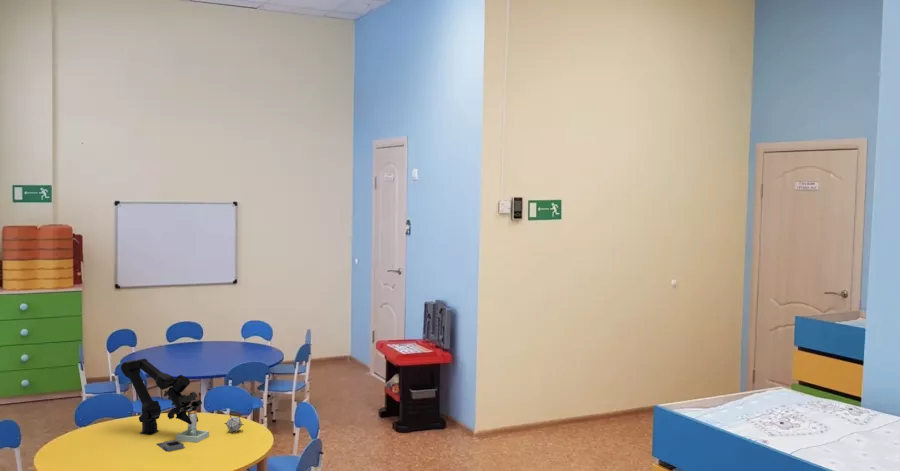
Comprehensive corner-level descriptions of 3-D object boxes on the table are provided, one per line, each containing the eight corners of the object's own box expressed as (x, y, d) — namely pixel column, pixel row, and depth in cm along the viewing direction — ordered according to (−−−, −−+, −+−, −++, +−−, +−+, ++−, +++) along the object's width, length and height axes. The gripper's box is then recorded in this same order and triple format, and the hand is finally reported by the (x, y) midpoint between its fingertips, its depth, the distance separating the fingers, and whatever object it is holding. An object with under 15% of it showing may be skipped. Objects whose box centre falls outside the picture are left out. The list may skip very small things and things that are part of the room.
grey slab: (155, 445, 364) (155, 439, 364) (174, 442, 370) (174, 436, 370) (166, 454, 353) (166, 447, 353) (185, 450, 359) (185, 443, 359)
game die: (237, 437, 389) (249, 421, 391) (231, 437, 381) (243, 420, 383) (224, 427, 391) (236, 411, 393) (218, 426, 383) (230, 409, 385)
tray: (175, 442, 370) (175, 435, 370) (188, 435, 380) (188, 429, 379) (197, 444, 367) (197, 437, 367) (209, 438, 376) (209, 431, 376)
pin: (187, 436, 371) (187, 412, 370) (188, 434, 375) (188, 410, 374) (195, 436, 371) (195, 412, 371) (197, 433, 375) (197, 409, 375)
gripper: (171, 392, 365) (189, 417, 361) (199, 383, 382) (216, 408, 378) (159, 406, 369) (177, 431, 365) (187, 397, 386) (204, 421, 382)
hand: (194, 422), depth 372 cm, fingers closed on pin, 4 cm apart
